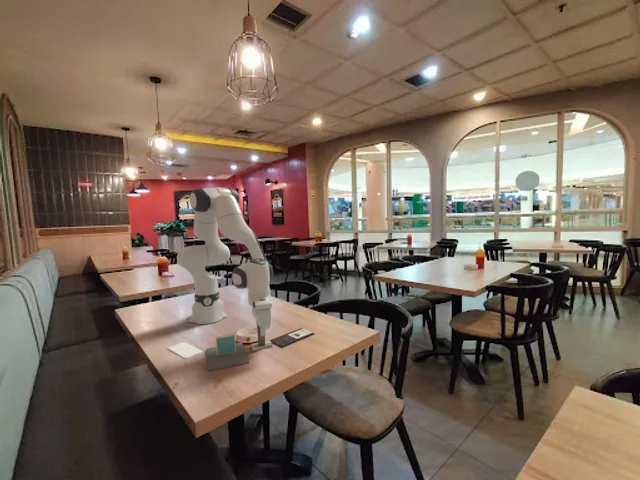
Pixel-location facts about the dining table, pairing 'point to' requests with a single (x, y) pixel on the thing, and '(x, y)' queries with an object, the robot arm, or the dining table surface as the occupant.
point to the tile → (225, 344)
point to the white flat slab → (185, 350)
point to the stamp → (261, 342)
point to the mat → (226, 358)
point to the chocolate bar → (291, 337)
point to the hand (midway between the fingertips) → (261, 332)
